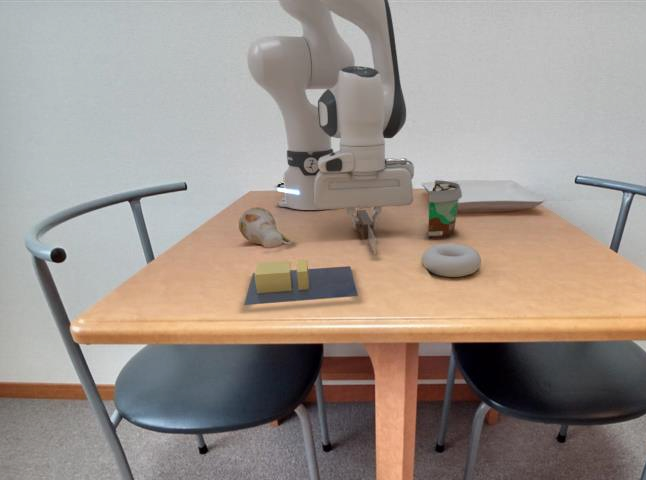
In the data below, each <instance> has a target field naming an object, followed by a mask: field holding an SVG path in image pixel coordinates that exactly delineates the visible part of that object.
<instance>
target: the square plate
mask: <svg viewBox="0 0 646 480" xmlns="http://www.w3.org/2000/svg"><path fill="white" fill-rule="evenodd" d="M448 181H449V182H454V183H457V184H459V185H460V188H461V193H462V197H461V198H460V199H458V206H457V213H459V214H460V213H462V214H463V213H465V214H466V213H488V212H489V213H490V212H491V213H493V212H495V213H497V212H516V211H520V210H521V211H522V210H528V209H529V210H530V209H533V208H536V207H538V206H541V204H543V203H545V202H546V200H545V199H544V198H543V197H541V196H540V195H538V194H537V193H535V192H534V191H532V190H531V189H529V188H527V187H526V186H524V185H522V184H520V183H518V182H517V181H514V180H511V179H508V180H507V179H506V180H498V179H496V180H493V179H481V180H480V179H476V180H475V179H471V180H470V179H469V180H467V179H465V180H448ZM421 186H422V187H423V188H424V190H425V191H426V193H427V194H428V195H429V191H432V190H433V188H434V187H435V181H426V182H422V183H421Z"/></svg>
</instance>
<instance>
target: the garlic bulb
mask: <svg viewBox="0 0 646 480" xmlns="http://www.w3.org/2000/svg"><path fill="white" fill-rule="evenodd" d="M277 225H278V224H277V222H276V219H275V217H274V215H273V214H272V212H270V211H269V210H267V209H265V208H263V207H260V206H259V207H257V206H256V207H251V208H248V209H246V210H245V211H244V212H243V213H242V214H241V216H240V218H239V220H238V230H239V232H240V234H241V236H243V237H244V239H246V241H248V242H250V243H253V244H257V245H261V246H262V247H264V248H265V249H273V248H276V247H280V246H281V245H282V246H283V245H293V242H292V241H291V240H290V239H289V238H287V237H286V236H285V235H284V234H282V233H281V232H280V231H278V227H277Z"/></svg>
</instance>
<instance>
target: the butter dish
mask: <svg viewBox="0 0 646 480" xmlns="http://www.w3.org/2000/svg"><path fill="white" fill-rule="evenodd" d="M292 267H293V266H292V260H290V259H289V260H276V261H275V260H274V261H261V262H257V264H256V268H255V271H254V272H252V275H251V278H250V282H249V286H248V289H247V293H246V296H245V300H244V303H243V306H250V305H251V306H252V305H264V304H277V303H278V304H279V303H289V302H290V303H291V302H303V301H315V300H325V299H326V300H327V299H328V300H329V299H339V298H340V299H341V298H352V297H359V295H358V290H357V286H356V283H355V278H354V276H353V271H352V267H351V266H350V265H349V266H335V267H333V266H332V267H320V268H308V276H309V289H308V290H299V288H298V278H297V269H292Z"/></svg>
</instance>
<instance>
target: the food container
mask: <svg viewBox="0 0 646 480" xmlns="http://www.w3.org/2000/svg"><path fill="white" fill-rule="evenodd" d="M449 181H450V180H439V179H438V180H437V179H435V180H434V182H435V187H434V188H433V190H432V191H429V194H428V228H427V229H428V231H427V233H428V234H427V239H428V240H443V239H448V238H450V237H452V236H454V234H455V228H456V222H457V221H456V219H457V206H458V199H460V198H461V197H462V193H461V188H460V185H459V184H457V183H454V182H449Z"/></svg>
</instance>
